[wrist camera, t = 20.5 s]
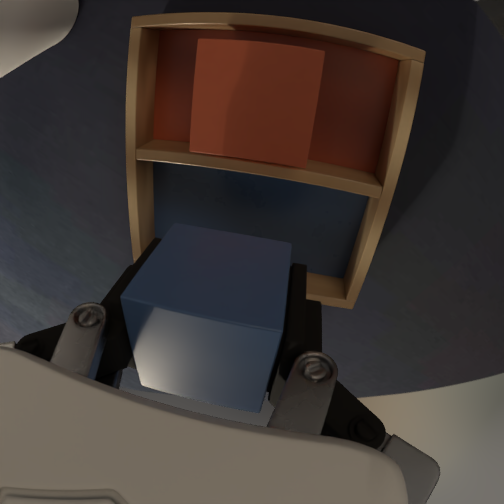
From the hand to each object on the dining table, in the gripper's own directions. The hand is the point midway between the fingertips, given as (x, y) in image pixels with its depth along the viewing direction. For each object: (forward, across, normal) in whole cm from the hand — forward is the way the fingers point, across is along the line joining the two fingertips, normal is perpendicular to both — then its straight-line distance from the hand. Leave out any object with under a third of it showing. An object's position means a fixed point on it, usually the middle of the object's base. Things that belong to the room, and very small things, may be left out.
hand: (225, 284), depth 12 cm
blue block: (0, 0, 0) cm, 0 cm away
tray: (+7, 0, -4) cm, 8 cm away
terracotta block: (+6, 0, -7) cm, 9 cm away
